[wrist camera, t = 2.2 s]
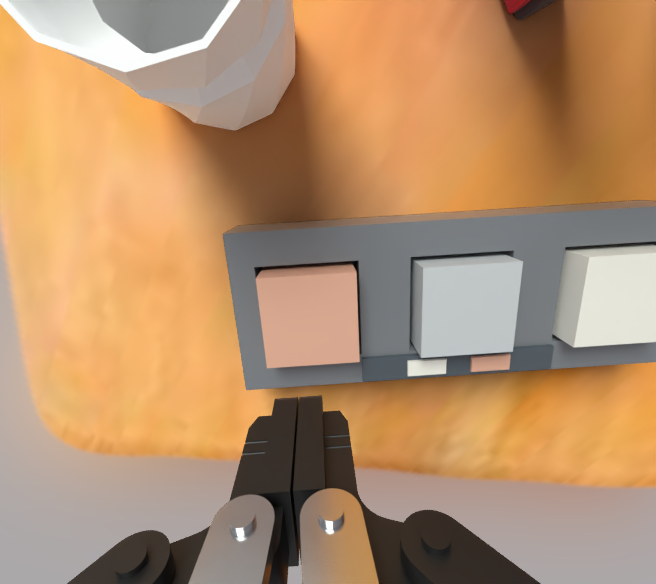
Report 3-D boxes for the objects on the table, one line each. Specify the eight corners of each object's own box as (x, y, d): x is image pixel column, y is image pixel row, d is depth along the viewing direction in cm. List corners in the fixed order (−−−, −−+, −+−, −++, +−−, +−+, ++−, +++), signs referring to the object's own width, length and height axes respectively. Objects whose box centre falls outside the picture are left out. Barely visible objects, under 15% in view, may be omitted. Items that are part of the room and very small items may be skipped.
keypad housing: (639, 200, 23) (712, 203, 19) (611, 335, 26) (668, 365, 22) (238, 225, 23) (220, 235, 19) (256, 359, 26) (244, 394, 22)
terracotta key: (351, 260, 21) (356, 272, 18) (354, 339, 23) (359, 362, 20) (263, 266, 21) (255, 278, 18) (273, 345, 23) (266, 368, 20)
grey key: (495, 251, 21) (523, 261, 19) (488, 330, 23) (512, 351, 20) (409, 256, 21) (423, 267, 18) (408, 336, 23) (421, 357, 20)
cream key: (638, 241, 22) (688, 250, 19) (621, 321, 23) (664, 341, 20) (553, 247, 21) (589, 257, 19) (541, 327, 23) (573, 347, 20)
